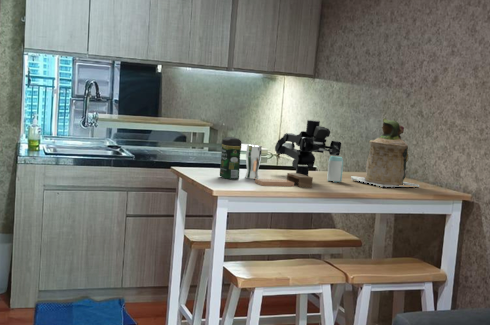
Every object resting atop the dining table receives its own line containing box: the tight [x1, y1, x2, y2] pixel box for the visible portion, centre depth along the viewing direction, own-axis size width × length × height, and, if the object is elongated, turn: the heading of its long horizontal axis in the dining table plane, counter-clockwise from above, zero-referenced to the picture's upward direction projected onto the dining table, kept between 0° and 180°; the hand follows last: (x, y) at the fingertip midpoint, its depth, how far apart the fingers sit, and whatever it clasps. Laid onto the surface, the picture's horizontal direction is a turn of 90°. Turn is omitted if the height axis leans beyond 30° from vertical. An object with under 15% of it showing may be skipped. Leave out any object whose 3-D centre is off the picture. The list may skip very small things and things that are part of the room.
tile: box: [254, 178, 295, 187], centre depth 291 cm, size 8×15×2 cm, turn 111°
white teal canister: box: [326, 155, 344, 183], centre depth 319 cm, size 7×7×12 cm
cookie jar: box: [350, 117, 420, 188], centre depth 323 cm, size 25×25×32 cm
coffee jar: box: [219, 136, 242, 180], centre depth 300 cm, size 10×8×19 cm
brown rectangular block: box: [286, 172, 314, 188], centre depth 296 cm, size 13×6×4 cm, turn 22°
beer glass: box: [244, 144, 262, 180], centre depth 307 cm, size 7×7×15 cm
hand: (328, 149), depth 286 cm, fingers open, 9 cm apart
